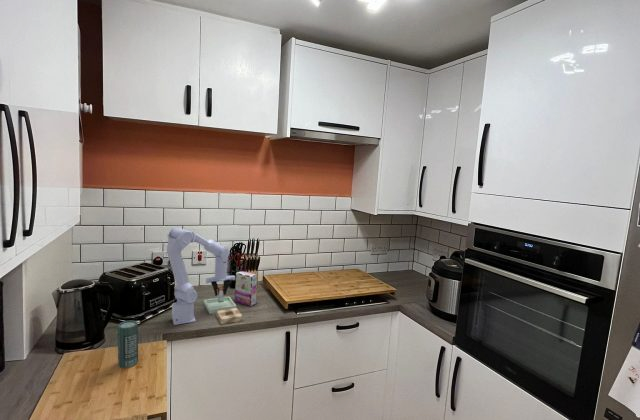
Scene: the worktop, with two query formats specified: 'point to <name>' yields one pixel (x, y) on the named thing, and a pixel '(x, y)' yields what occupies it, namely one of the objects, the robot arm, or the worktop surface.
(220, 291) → the metal pin
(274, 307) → the worktop surface
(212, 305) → the tray
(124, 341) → the can
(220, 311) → the pin holder block
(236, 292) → the candy bar box
